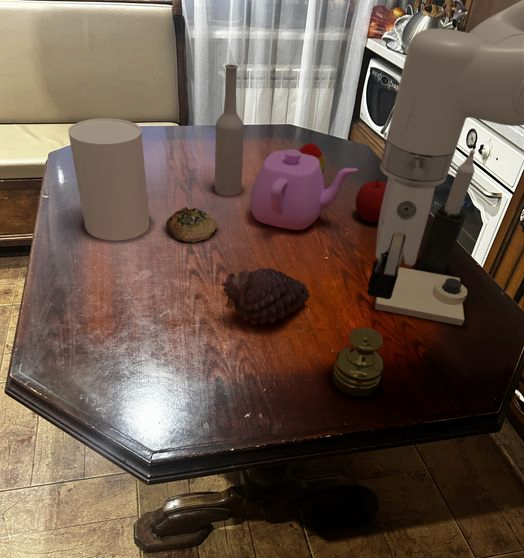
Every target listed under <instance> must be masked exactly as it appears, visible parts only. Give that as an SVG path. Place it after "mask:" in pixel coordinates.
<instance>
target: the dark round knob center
mask: <svg viewBox="0 0 524 558" xmlns="http://www.w3.org/2000/svg"><path fill="white" fill-rule="evenodd" d="M462 285H463V284H462V282H461V280H460V281H459V280H457V279H454V278H448V279H446V281H445V283H444V286H443V290H444V291H445V292H447V293H450V294H458V293H459V290H460V288H461V286H462Z"/></svg>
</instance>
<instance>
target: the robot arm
mask: <svg viewBox="0 0 524 558" xmlns="http://www.w3.org/2000/svg"><path fill="white" fill-rule="evenodd" d="M469 118H471V119H476V120H480V121H485V122H489V123H493V124H496V125H497V124H498V125H502V126H510V127H519V126H520V127H521V126H524V0H520V1H518V2H516V3H514V4H513V5H510V6H508V7H507V8H505V9H503V10H501V11H499V12H498V13H495V14H493V15H491V16H490V17H488V18H486V19H485V20H483V21H482V22H480V23H479V24H477V25H476V26H475V27H474V28H472V29H471V30H470V31H469V32H465V31H461V30H456V29H448V28H427V29H422V30H420V31H418V32H417V33H416V34H414V36H413V37H412V38H411V40H410V42H409V44H408V48H407V51H406V55H405V58H404V62H403V67H402V72H401V75H400V80H399V85H398V89H397V93H396V97H395V101H394V106H393V110H392V115H391V119H390V123H389V128H388V131H387V136H386V141H385V144H384V148H383V153H382V157H381V161H380V164H379V165H380V166H379V169H380V171H381V172H382V174H383V175H385V176H386V177H387V181H386V183H387V184H386V189H385V193H384V197H383V202H382V206H381V211H380V217H379V222H377V232H376V241H375V242H376V244H375V245H376V246H375V258H376V260H374V261H373V265H372V269H371V273H370V276H369V280H368V288H367V293H366V294H367V295H368V296H369V297H374V298H376V297H379V298H384V299H390V298H391V297H392V293H393V290H394V287H395V283H396V280H397V277H398V270H399V267H401V263H402V261H404V265H406V266H409V267H412V266H414V265H415V264H416V262H417V259H418V254H419V250H420V247H421V244H422V240H423V236H424V233H425V229H426V226H427V222H428V219H429V215H430V211H431V208H432V203H433V200H434V199H433V198H434V194H435V189H436V186H439V185H441V184H443V183H445V182H446V180H447V178H448V175H449V171H450V168H451V165H452V162H453V159H454V156H455V153H456V150H457V147H458V144H459V141H460V137H461V135H462V132H463V128H464V125H465V123H466V120H467V119H469Z"/></svg>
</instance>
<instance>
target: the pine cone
mask: <svg viewBox="0 0 524 558" xmlns="http://www.w3.org/2000/svg"><path fill="white" fill-rule="evenodd" d="M220 285H221V287H224V288H223V292H224V293H225V294H226V296H227V299H226V303H225V306H226V307H227V308H228V309H231V308H234V309H235V311H237V312H238V314H239V315H240V316H241V317H243V320H244V321H246V322H250V324H251V325H257V324H258V323H260V325H266V323H267V322H270V323H271V324H273V323H275V322H276V321H277V319H279V320H281V319H284V317H287V316H289V314H290V313H294V312H295V311H296V310H297V309H298V308H300V307H302V305H304V304H305V303H306V302H307V301H309V298H310V297H311V295H310V290H309V289H308V287H307V286H306V283H303V282H301V281H300V280H299V279H295V278H294V277H292V276H289V275H287V274H286V273H285V272H282V271H280V270H276V269H275V268H271V267H267V268H263V267H262V268H258V269H256V270H252V271H250V270H249V269H245V270H242V271H239V273H238V274H237V276H236V274H235V273H229V275H227V278H226V279H225V281H223V282H222V283H221V284H220Z"/></svg>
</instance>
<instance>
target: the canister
mask: <svg viewBox="0 0 524 558" xmlns="http://www.w3.org/2000/svg"><path fill="white" fill-rule="evenodd" d="M67 133H68V137H69V143H70V148H71V153H72V160H73V165H74V171H75V176H76V182H77V187H78V194H79V198H80V204H81V211H82V216H83V221H84V227H85V230H86V232H87V233H88V234H89V235H90V236H92V237H94V238H97V239H100V240H106V241H125V240H131V239H135V238H137V237H139V236H142V235H143V234H144V233H146V232H147V231H148V229H149V227H150V214H149V213H150V212H149V204H148V203H149V201H148V192H147V191H148V190H147V180H146V169H145V168H146V167H145V166H146V165H145V156H144V144H143V143H144V142H143V132H142V128H141V127H140V126H139V125H138V124H137V123H135V122H132V121H130V120H126V119H122V118H121V119H120V118H112V117H103V118H101V117H100V118H98V117H97V118H91V119H86V120H81V121H79V122H76V123H74V124H73V125H70V127H69V128H68V132H67Z"/></svg>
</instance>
